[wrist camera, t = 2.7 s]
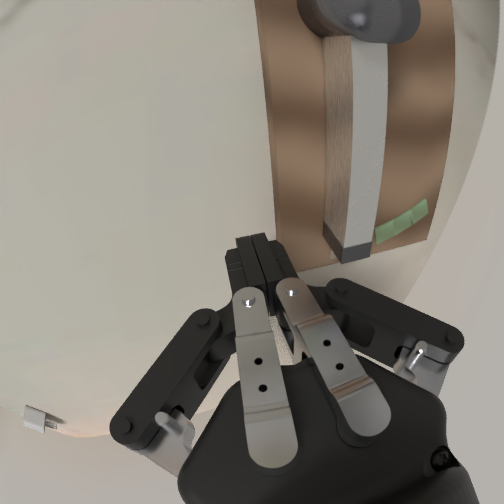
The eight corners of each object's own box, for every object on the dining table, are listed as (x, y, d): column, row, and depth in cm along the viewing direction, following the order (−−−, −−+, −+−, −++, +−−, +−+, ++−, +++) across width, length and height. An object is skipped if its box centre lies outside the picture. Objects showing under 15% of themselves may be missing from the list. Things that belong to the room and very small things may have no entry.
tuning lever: (292, -29, 8) (329, -53, 5) (365, -18, 9) (415, -29, 5) (307, 238, 19) (332, 282, 16) (361, 227, 20) (393, 265, 16)
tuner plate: (248, -46, 8) (254, -56, 7) (436, -8, 10) (452, -8, 8) (277, 262, 22) (284, 277, 21) (417, 230, 24) (427, 240, 22)
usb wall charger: (25, 404, 33) (23, 422, 30) (57, 415, 36) (56, 434, 33) (27, 409, 34) (24, 427, 31) (57, 420, 38) (56, 437, 35)
